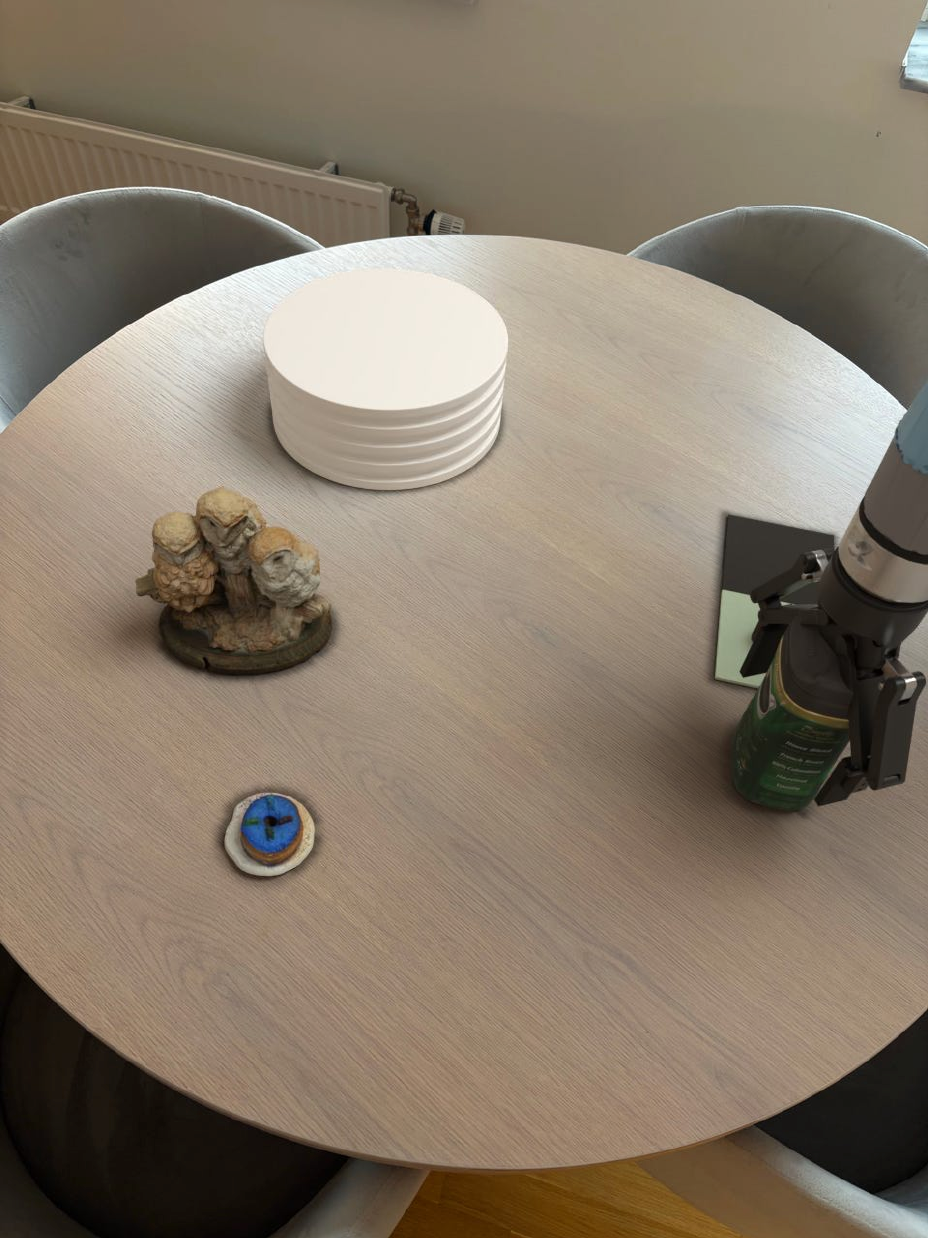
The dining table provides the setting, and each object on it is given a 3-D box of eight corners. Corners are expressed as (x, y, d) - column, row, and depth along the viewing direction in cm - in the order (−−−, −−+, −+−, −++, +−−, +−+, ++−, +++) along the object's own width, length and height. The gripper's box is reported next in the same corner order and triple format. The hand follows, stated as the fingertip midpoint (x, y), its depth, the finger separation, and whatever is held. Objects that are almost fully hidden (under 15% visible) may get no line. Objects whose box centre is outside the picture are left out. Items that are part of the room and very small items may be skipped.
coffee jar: (815, 823, 84) (900, 703, 70) (726, 802, 85) (792, 681, 71) (813, 734, 90) (892, 607, 76) (730, 716, 91) (792, 587, 77)
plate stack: (459, 334, 129) (463, 256, 121) (532, 466, 113) (544, 387, 104) (253, 364, 123) (242, 283, 114) (299, 509, 106) (291, 428, 97)
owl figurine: (142, 678, 90) (98, 554, 77) (159, 585, 98) (122, 458, 85) (332, 674, 92) (322, 552, 79) (335, 583, 99) (325, 458, 86)
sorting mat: (837, 706, 93) (838, 703, 92) (714, 679, 94) (715, 676, 94) (832, 537, 108) (834, 535, 108) (727, 516, 109) (728, 514, 109)
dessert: (325, 864, 78) (277, 841, 74) (265, 899, 80) (215, 879, 76) (313, 784, 84) (267, 759, 80) (257, 819, 86) (209, 796, 81)
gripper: (758, 461, 74) (691, 632, 90) (947, 723, 59) (825, 871, 75) (842, 447, 75) (761, 618, 92) (1046, 698, 60) (906, 849, 77)
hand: (790, 732), depth 83 cm, fingers open, 13 cm apart
